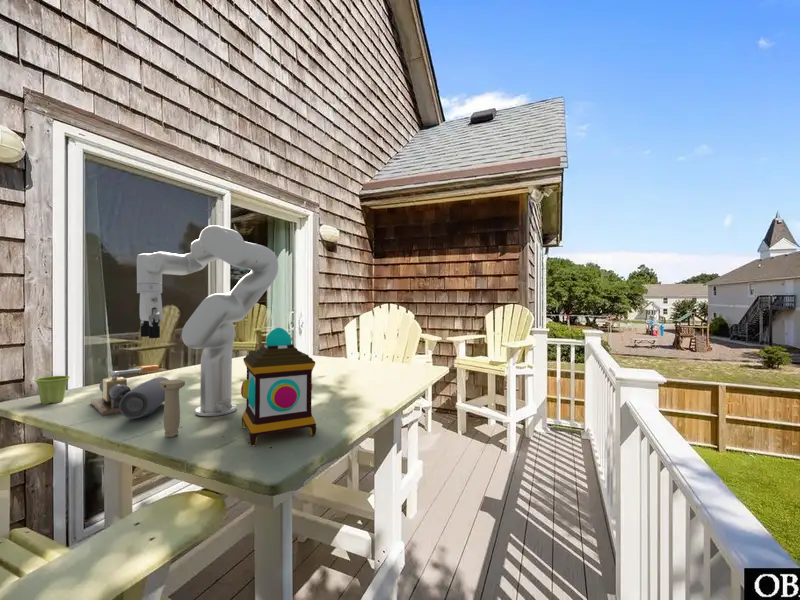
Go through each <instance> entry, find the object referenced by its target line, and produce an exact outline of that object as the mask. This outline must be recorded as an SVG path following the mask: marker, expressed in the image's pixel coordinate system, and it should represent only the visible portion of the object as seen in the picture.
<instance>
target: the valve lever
mask: <svg viewBox="0 0 800 600" xmlns="http://www.w3.org/2000/svg"><path fill="white" fill-rule="evenodd" d="M157 371H159V365H157V364H153V365H151V364H150V365H144V366H140V368H133V369H126V370H124V369H123V370H112V371H110V372H109V375H110V377H112V376H116V375H118V376H120V375H126V374H127V375H129V374H138V373H150V372H157Z"/></svg>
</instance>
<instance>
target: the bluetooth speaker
mask: <svg viewBox="0 0 800 600" xmlns="http://www.w3.org/2000/svg"><path fill="white" fill-rule="evenodd" d="M165 380H170V378H167V377H163V376H159V377H154V378H151V379H149V380H147V381H145V382H142V383H140V384H139V385H137V386H136V387H134V388H132V389H131V391H129V392H128V393H127V394H125V395H124V396H123V397H122V399H121V400H120V403H119V410H120V414H122V416H124V417H125V418H127V419H138V418H142V417H147V415H148V416H150V415H151V414H153V413H154V412H156V410H157V409H158V408H159V407H160V406H161V405H162V404H163V403H165V390H164V389H162V388H160V387H159V382H161V381H165ZM152 412H153V413H152ZM149 414H150V415H149Z"/></svg>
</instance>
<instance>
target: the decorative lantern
mask: <svg viewBox="0 0 800 600" xmlns="http://www.w3.org/2000/svg"><path fill="white" fill-rule="evenodd" d="M243 363H244V365H245V367H246V379H245V380H243V382H242V384H241V386H240V387H241V388H240V395H241V397H242V398H243V399H246V406H245V410H244V412H243V414H242V416H241V427H242V428H243V427H246V428H245V429H246V430H247V432H248V433H249V441H250V442H249V443H250V445H251V446H252V445H255V444H257V439H258V437H260V436H262V435H270V434H274V433H275V434H276V433H281V432H287V431H293V430H295V431H296V430H299V429H304V428H305V429H306V428H309V433H310V436H311V435H314V436H315V435H316V433H317V423H316V421H315V419H314V416H313V415H312V414H313V413H312V393H313V392H312V390H313V383H312V380H313V379H312V376H313V375H312V374H313V370H314V368H315V366H316V361H315V360H314V359H313V358H312V357H310V355H309V354H306V353H304V352H302V351H300V350H298V348H297V347H295V345H294V344H292V337H291V335H290V333H289V332H288V331H287V330H286V329H284V328H281V327H275V328H274V329H272V330H271V331H270V332H269V333H268V334H267V335H266V338H265V343H263V346H261V347H259V349H256V351H251V352H249V354H247V355H246V356H245V357H243ZM255 446H256V445H255Z"/></svg>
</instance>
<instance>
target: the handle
mask: <svg viewBox="0 0 800 600" xmlns="http://www.w3.org/2000/svg"><path fill="white" fill-rule="evenodd" d="M185 385H186V381H185V380H181V379H169V380H165V381H161V382H159V387H160V388H162V389H164V390H165V401H164V402H163V403H164V405H163V430H164V436H165V437H166V438H174V437H173V436H175V435H177V436H178V435H179V432H180V430H179V429H180V422H181V407H180V390H181V389H182V388H183V387H185ZM175 437H176V436H175Z"/></svg>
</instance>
